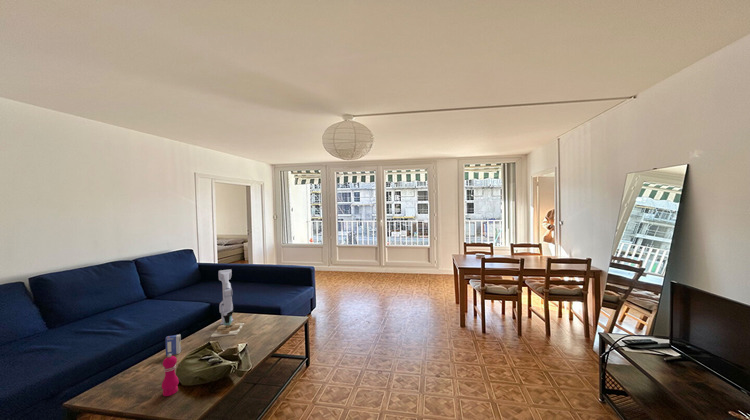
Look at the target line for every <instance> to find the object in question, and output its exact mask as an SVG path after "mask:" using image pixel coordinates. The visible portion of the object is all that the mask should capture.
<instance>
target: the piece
mask: <svg viewBox="0 0 750 420" xmlns="http://www.w3.org/2000/svg"><path fill="white" fill-rule="evenodd" d="M232 319H233V316H232V317H231V316H230V319H229V323H226V322H225V319H224V324H223V325H224V326H226V325H230V324H231V323H233V321H232Z"/></svg>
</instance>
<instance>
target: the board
mask: <svg viewBox="0 0 750 420" xmlns="http://www.w3.org/2000/svg"><path fill="white" fill-rule="evenodd" d="M243 326H245V322H243V323H241V322H240V323H236V322H235V321H232V323H231V324H230V325H226V326H224V324H221V325H218V327H217V328H216V330H215V331H214V332H213V333H212V334H211V336H210V338H214V337H215V338H217V337H225V336H237V335H238V334H239V333H240V331H241V330H242V328H243Z"/></svg>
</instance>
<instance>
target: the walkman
mask: <svg viewBox="0 0 750 420" xmlns="http://www.w3.org/2000/svg"><path fill="white" fill-rule="evenodd" d="M164 338H165V356H166V357H168V354H172V356H175V355H178V354H180V353H181V352H182V336H181V334H180V333H179V334H174V335H168V336H166V337H164Z"/></svg>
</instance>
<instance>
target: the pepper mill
mask: <svg viewBox="0 0 750 420" xmlns="http://www.w3.org/2000/svg"><path fill="white" fill-rule="evenodd" d="M177 362H178V358H177V357H176V356H175V355H172V354H168V356H166V358H164V359H163V361H162V367H163V372H164V378H163V381H162V382H161V389H162V396H163V397H171V396H173V395H174V394H176V393H177V392H178V391H179V387H178V385H179V383H180V382H179V377H178V376H177V375H176V370H175V369H176V368H177V365H176V364H177Z"/></svg>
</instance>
